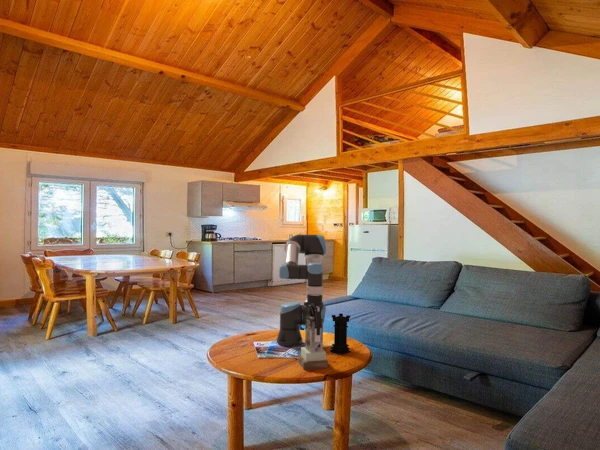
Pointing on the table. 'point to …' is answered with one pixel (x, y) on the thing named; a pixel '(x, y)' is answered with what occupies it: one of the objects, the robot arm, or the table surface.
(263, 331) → the table surface
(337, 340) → the chess piece
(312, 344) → the coffee box
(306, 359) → the sage block
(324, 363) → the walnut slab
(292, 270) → the robot arm
